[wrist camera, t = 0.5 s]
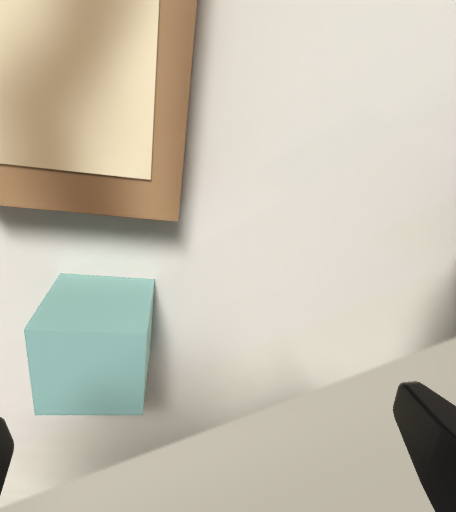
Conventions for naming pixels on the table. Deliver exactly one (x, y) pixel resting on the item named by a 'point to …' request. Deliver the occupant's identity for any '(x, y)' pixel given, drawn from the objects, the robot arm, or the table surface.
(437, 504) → the robot arm
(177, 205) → the base slab
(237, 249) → the table surface
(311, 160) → the table surface
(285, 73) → the table surface
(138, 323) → the teal cube
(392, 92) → the table surface
